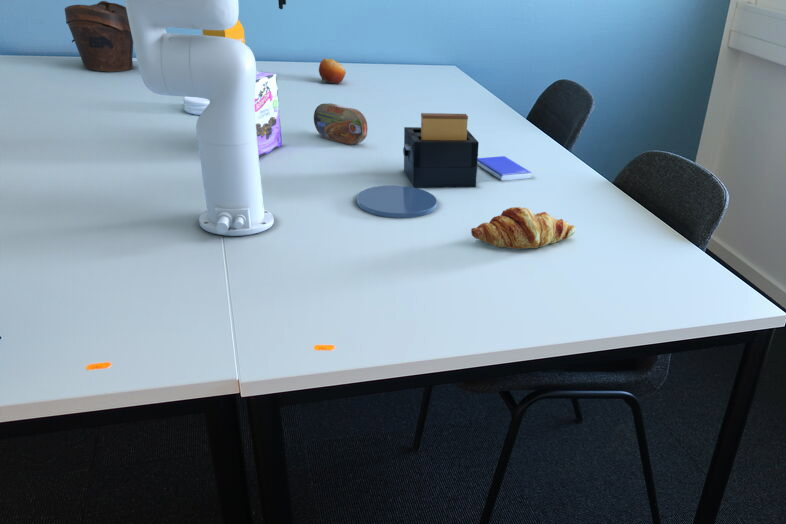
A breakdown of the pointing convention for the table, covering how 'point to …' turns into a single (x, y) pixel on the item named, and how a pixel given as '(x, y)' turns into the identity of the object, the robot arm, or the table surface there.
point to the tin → (340, 123)
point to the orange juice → (229, 32)
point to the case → (101, 35)
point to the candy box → (267, 113)
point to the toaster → (439, 161)
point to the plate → (396, 201)
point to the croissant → (522, 229)
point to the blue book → (504, 168)
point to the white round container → (195, 105)
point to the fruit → (331, 71)
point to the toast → (443, 126)
